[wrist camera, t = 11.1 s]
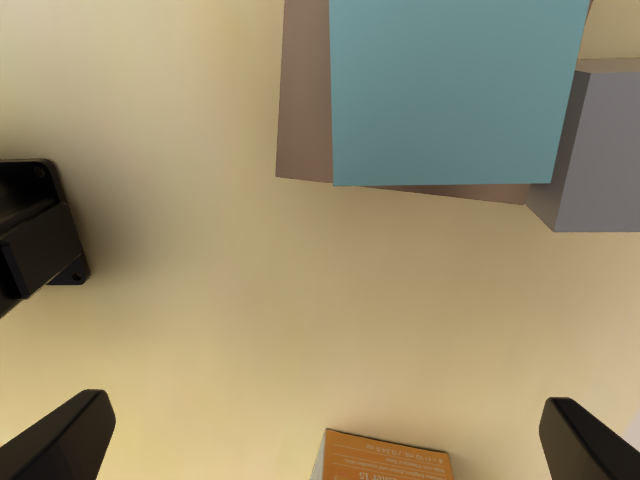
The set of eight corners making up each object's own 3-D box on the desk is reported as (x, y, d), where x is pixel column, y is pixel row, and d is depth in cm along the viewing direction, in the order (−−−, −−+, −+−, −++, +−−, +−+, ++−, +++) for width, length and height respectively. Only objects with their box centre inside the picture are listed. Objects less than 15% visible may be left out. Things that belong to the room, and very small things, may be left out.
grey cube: (505, 183, 19) (553, 231, 14) (525, 61, 17) (591, 72, 12) (623, 182, 18) (711, 231, 14) (661, 57, 16) (780, 68, 12)
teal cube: (339, 137, 15) (333, 186, 10) (336, -35, 12) (327, -69, 8) (488, 134, 14) (550, 183, 10) (512, -44, 12) (608, -85, 8)
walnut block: (289, 148, 19) (275, 176, 15) (305, -104, 15) (292, -146, 11) (490, 171, 19) (523, 205, 15) (562, -77, 15) (630, -110, 11)
